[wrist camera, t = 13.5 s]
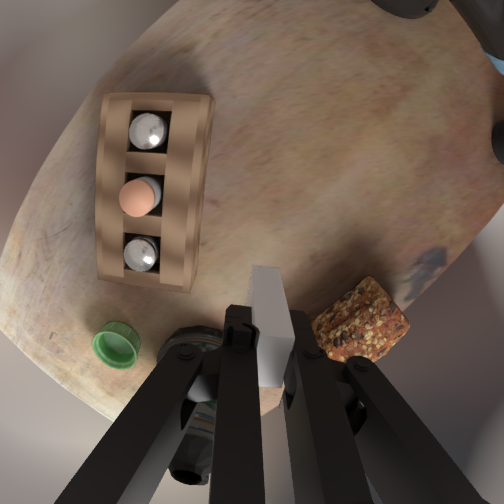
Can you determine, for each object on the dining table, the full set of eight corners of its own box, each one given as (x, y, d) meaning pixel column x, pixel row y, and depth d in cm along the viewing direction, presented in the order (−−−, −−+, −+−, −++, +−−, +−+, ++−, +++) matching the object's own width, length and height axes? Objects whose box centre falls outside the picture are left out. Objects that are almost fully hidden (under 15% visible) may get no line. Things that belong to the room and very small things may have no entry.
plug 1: (147, 116, 38) (131, 113, 32) (177, 117, 38) (165, 114, 32) (144, 146, 39) (127, 148, 33) (173, 148, 40) (161, 150, 34)
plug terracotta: (137, 172, 39) (119, 179, 33) (167, 175, 39) (154, 181, 33) (135, 203, 41) (118, 215, 35) (165, 206, 41) (152, 218, 35)
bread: (368, 269, 49) (392, 297, 39) (397, 306, 52) (420, 336, 42) (285, 337, 53) (292, 374, 44) (320, 366, 56) (331, 402, 47)
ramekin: (149, 333, 52) (143, 347, 48) (135, 362, 55) (129, 377, 51) (106, 310, 51) (97, 323, 47) (96, 342, 53) (87, 355, 49)
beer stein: (216, 308, 51) (198, 431, 27) (270, 380, 57) (281, 491, 33) (143, 344, 53) (100, 451, 30) (202, 405, 59) (189, 506, 36)
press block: (123, 98, 38) (103, 93, 32) (215, 102, 39) (209, 95, 32) (115, 261, 47) (97, 279, 41) (196, 272, 48) (189, 293, 42)
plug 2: (139, 224, 44) (123, 238, 37) (167, 227, 44) (155, 242, 38) (138, 252, 45) (124, 269, 39) (165, 255, 45) (154, 273, 39)
